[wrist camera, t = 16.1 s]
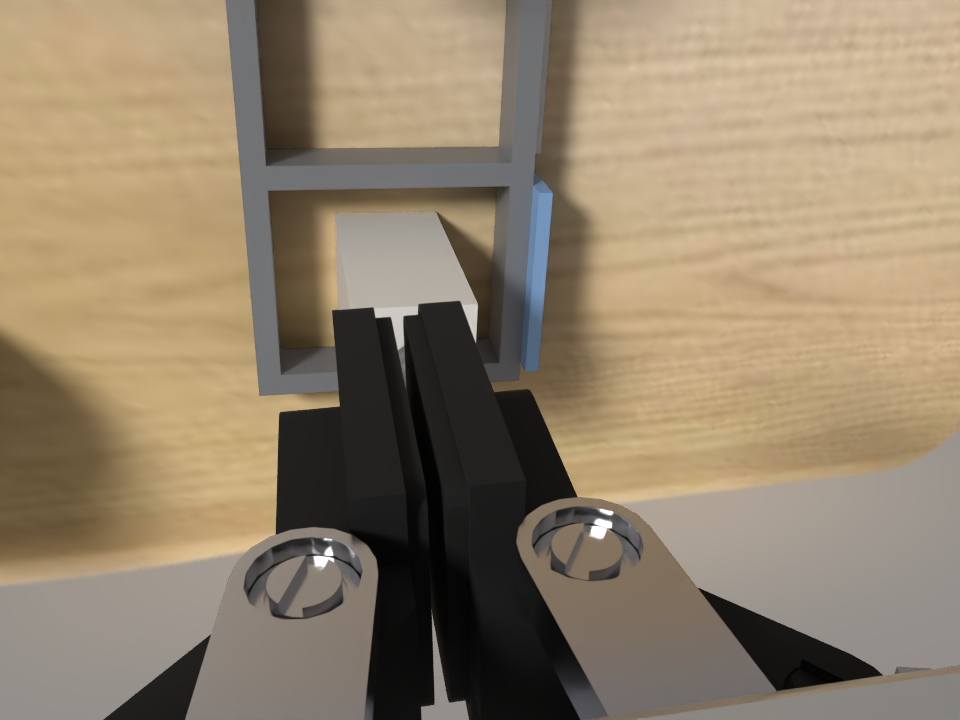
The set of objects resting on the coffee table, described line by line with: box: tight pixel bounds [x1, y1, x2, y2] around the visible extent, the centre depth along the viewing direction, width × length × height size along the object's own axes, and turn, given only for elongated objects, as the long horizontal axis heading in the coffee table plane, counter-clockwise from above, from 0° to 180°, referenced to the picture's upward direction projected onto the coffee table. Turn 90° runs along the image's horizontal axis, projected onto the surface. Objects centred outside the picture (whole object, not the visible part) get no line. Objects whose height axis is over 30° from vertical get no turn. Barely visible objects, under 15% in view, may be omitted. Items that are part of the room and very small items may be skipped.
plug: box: [335, 211, 478, 387], centre depth 36 cm, size 4×4×11 cm
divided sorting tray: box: [226, 0, 553, 396], centre depth 37 cm, size 13×20×4 cm, turn 178°
